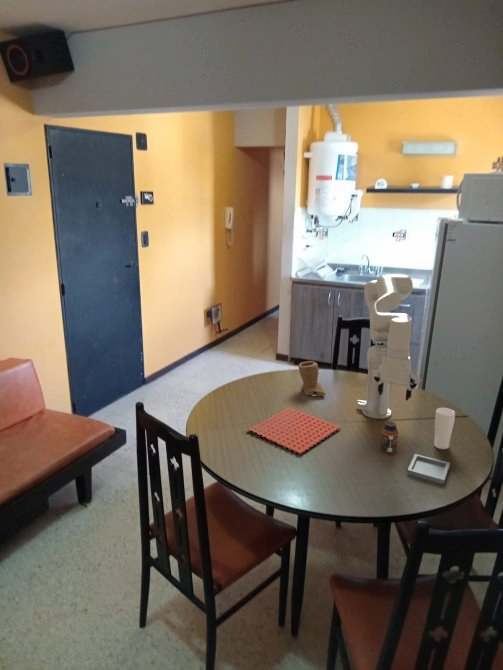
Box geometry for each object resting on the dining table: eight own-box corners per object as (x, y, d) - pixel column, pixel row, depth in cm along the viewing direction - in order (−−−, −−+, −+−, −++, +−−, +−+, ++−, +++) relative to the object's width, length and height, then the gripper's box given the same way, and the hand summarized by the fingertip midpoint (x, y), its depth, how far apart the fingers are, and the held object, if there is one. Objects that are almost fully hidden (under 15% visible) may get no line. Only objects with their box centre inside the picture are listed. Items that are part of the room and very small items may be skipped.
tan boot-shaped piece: (296, 386, 237) (297, 358, 233) (319, 385, 238) (320, 357, 233) (301, 398, 223) (302, 369, 218) (325, 397, 223) (326, 368, 219)
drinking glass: (442, 452, 175) (446, 416, 171) (428, 444, 181) (432, 409, 176) (454, 448, 178) (459, 412, 173) (440, 440, 184) (444, 405, 179)
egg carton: (341, 430, 193) (341, 426, 192) (300, 457, 174) (300, 453, 173) (288, 410, 211) (288, 406, 211) (246, 433, 192) (246, 428, 191)
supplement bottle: (393, 456, 173) (396, 428, 170) (378, 451, 176) (380, 424, 173) (398, 448, 178) (400, 422, 175) (382, 444, 181) (385, 418, 178)
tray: (407, 474, 161) (407, 469, 161) (414, 458, 171) (415, 453, 171) (443, 485, 155) (444, 480, 155) (449, 467, 165) (449, 462, 165)
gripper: (370, 351, 167) (367, 395, 171) (420, 359, 158) (416, 405, 163) (376, 346, 173) (373, 388, 178) (425, 353, 164) (420, 397, 169)
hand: (394, 396), depth 170 cm, fingers open, 9 cm apart
